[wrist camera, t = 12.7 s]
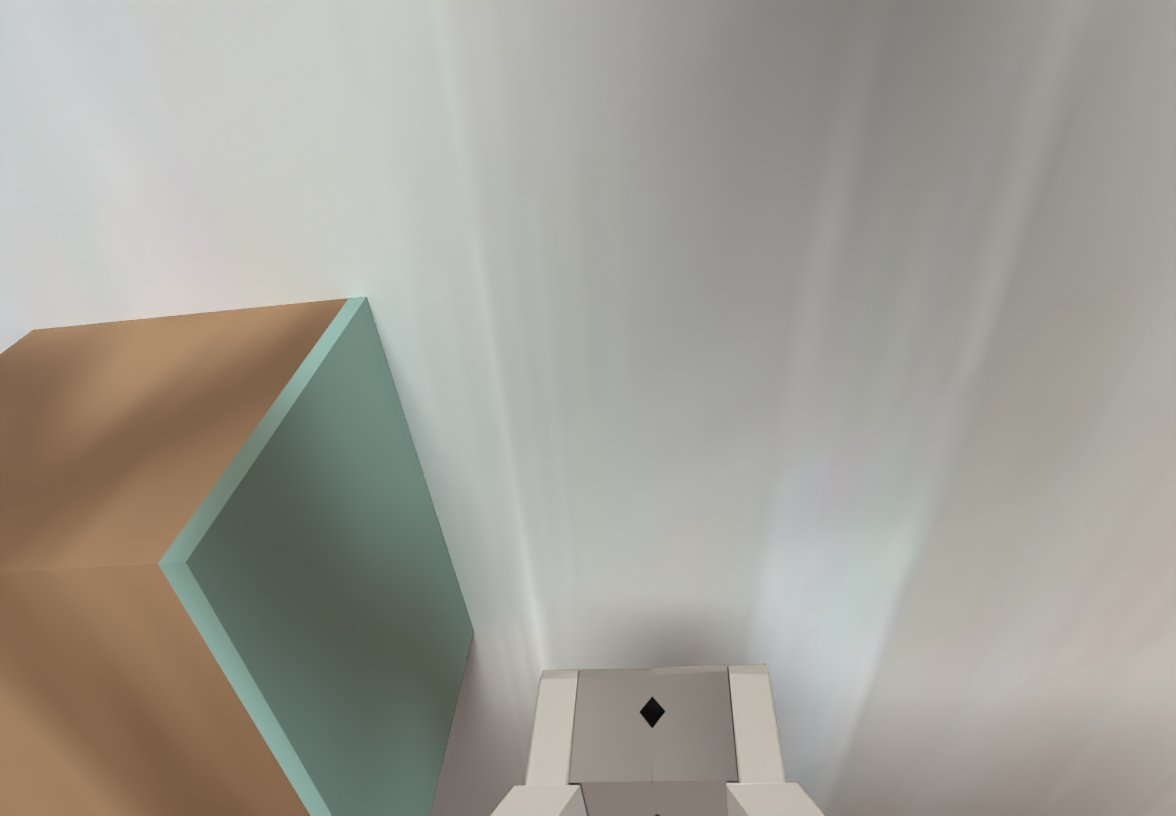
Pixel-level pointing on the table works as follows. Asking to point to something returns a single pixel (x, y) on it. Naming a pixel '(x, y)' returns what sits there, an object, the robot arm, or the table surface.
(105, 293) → the table surface
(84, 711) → the wooden block
